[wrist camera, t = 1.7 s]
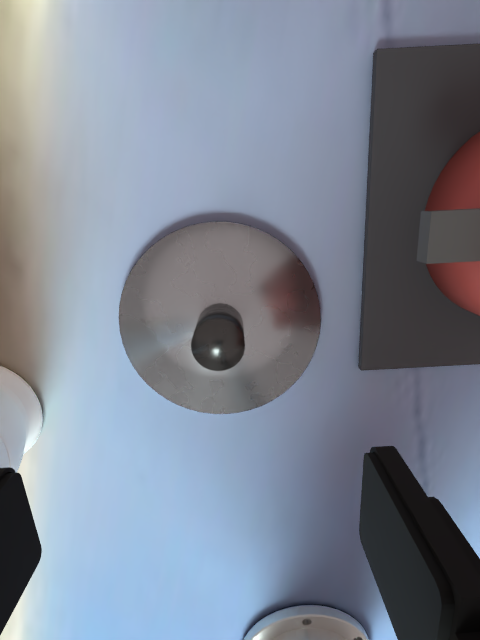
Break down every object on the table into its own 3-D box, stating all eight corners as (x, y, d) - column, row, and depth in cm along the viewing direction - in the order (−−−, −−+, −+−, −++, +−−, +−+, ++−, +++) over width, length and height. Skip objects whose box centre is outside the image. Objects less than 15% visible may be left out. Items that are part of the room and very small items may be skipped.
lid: (316, 402, 29) (332, 441, 24) (136, 411, 29) (117, 452, 24) (318, 215, 25) (339, 218, 20) (108, 226, 25) (78, 231, 20)
